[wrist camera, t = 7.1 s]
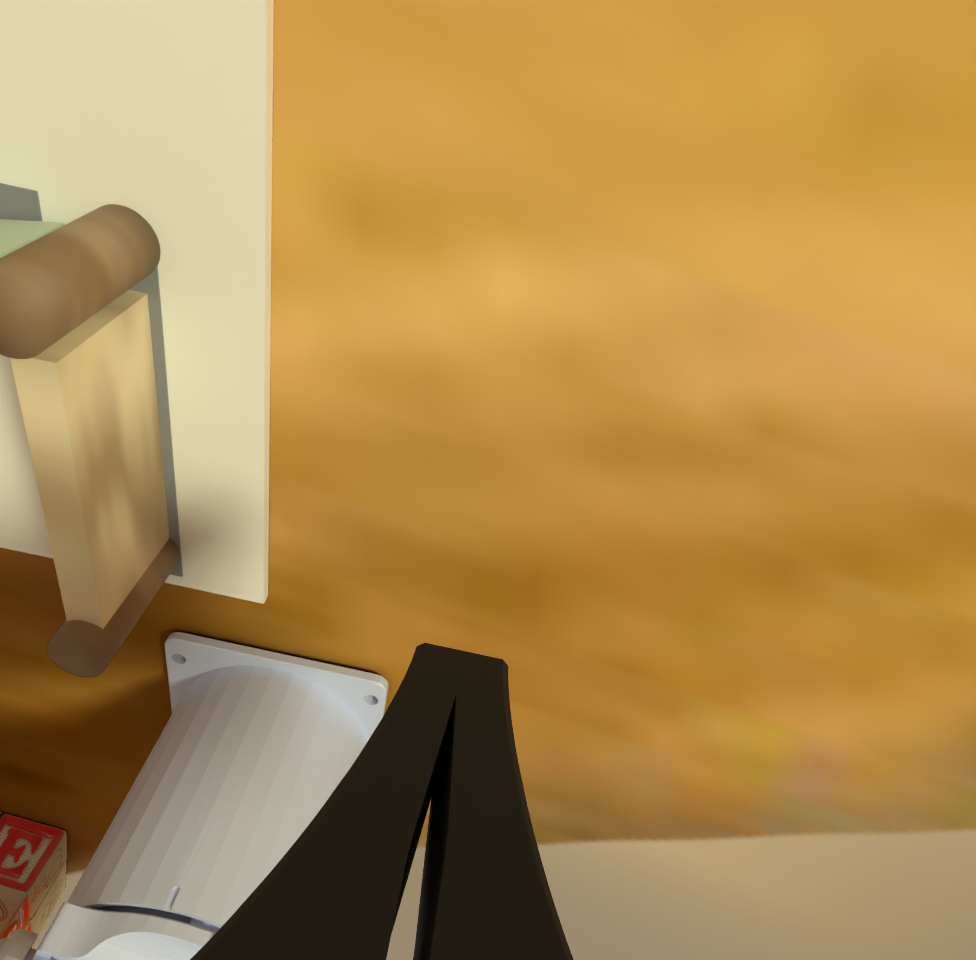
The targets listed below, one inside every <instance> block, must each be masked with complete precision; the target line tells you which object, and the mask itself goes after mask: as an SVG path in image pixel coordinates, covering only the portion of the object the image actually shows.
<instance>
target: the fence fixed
mask: <svg viewBox="0 0 976 960" xmlns="http://www.w3.org/2000/svg"><path fill="white" fill-rule="evenodd" d="M159 261H160V244H159V241H158V238H157V235H156V234H155V232H154V230H153V228H152V227H151V225H150V224H149V223H148V222H147V221H146V220H145V219H144V218H143V217H142V216H141V215H140V214H138V213H137V212H136V211H134V210H132V209H130V208H128V207H126V206H122V205H117V204H108V205H104V206H101V207H99V208H97V209H95V210H93V211H91V212H89V213H87V214H85V215H83V216H82V217H80V218H78V219H76V220H74V221H72V222H70V223H68V224H66V225H64V226H62V227H60V228H58V229H56V230H54V231H52V232H50V233H48V234H46V235H45V236H43V237H41V238H39V239H37V240H35V241H33V242H31V243H29V244H27V245H25V246H23V247H21V248H19V249H17V250H15V251H13V252H11V253H10V254H8V255H6V256H4V257H2V258H0V354H1V355H3V356H6V357H10V360H11V364H12V369H13V374H14V378H15V383H16V388H17V392H18V397H19V401H20V406H21V411H22V415H23V420H24V425H25V429H26V434H27V439H28V443H29V448H30V453H31V457H32V462H33V466H34V471H35V476H36V480H37V485H38V490H39V494H40V499H41V504H42V508H43V513H44V518H45V522H46V527H47V531H48V536H49V541H50V545H51V550H52V555H53V559H54V564H55V569H56V573H57V578H58V583H59V587H60V592H61V596H62V601H63V606H64V610H65V615H66V620H65V622H64V623H63V624H62V625H61V627H60V628H59V629H58V630H57V632H56V633H55V634H54V635H53V637H52V638H51V639H50V640H49V642H48V643H47V646H46V650H47V653H48V655H49V657H50V659H51V660H52V661H53V662H54V663H55V664H56V665H57V666H58V667H60V668H61V669H63V670H65V671H66V672H68V673H71V674H73V675H76V676H81V677H95V676H98V675H100V674H101V673H102V672H103V671H104V670H105V668H106V667H107V665H108V664H109V662H110V661H111V659H112V658H113V657H114V655H115V654H116V652H117V651H118V649H119V648H120V646H121V645H122V643H123V642H124V641H125V639H126V638H127V636H128V635H129V633H130V632H131V630H132V629H133V627H134V626H135V624H136V623H137V622H138V620H139V619H140V617H141V616H142V614H143V613H144V611H145V610H146V608H147V607H148V606H149V604H150V603H151V601H152V600H153V598H154V597H155V595H156V594H157V592H158V591H159V589H160V588H161V587H162V585H163V584H164V582H165V581H166V579H167V578H168V576H169V575H170V573H171V572H172V571H173V569H174V568H175V566H176V565H177V563H178V562H179V560H180V551H179V548H178V546H177V545H176V544H175V542H174V541H173V540H172V539H171V538H170V536H169V525H168V514H167V503H166V492H165V481H164V470H163V459H162V449H161V438H160V427H159V416H158V405H157V394H156V383H155V372H154V361H153V350H152V339H151V328H150V318H149V307H148V296H147V294H146V293H141V292H137V291H132V290H129V289H130V288H132V287H133V286H134V285H136V284H137V283H138V282H140V281H141V280H143V279H144V278H145V277H147V276H148V275H150V274H151V273H152V272H153V271H154V270H155V268H156V266H157V265H158V264H159Z"/></svg>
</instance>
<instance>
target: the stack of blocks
mask: <svg viewBox="0 0 976 960" xmlns="http://www.w3.org/2000/svg"><path fill="white" fill-rule="evenodd" d="M66 859H67V836H66V831H65V830H62V829H59V828H55V827H51V826H48V825H44V824H41V823H38V822H34V821H31V820H27V819H23V818H20V817H16V816H13V815H10V814H3V813H2V811H0V939H3V938H8V937H9V936H10V935H11V934H12V933H13V932H14V931H15V930H17V929H25V930H28V931H31V932H33V933H36V934H38V936H37V938H36V939H35V941H34V943H33V945H34V944H35V942H36V940H37V939H38V937H39V935H40V933H41V931H42V929H43V928H44V926H45V924H46V922H47V920H48V919H49V917H50V915H51V913H52V912H53V910H54V908H55V906H56V904H57V903H58V901H59V899H60V897H61V895H62V894H63V892H64V890H65V888H66ZM33 945H32V946H33ZM31 948H32V947H31Z"/></svg>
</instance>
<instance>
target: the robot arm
mask: <svg viewBox="0 0 976 960" xmlns="http://www.w3.org/2000/svg"><path fill="white" fill-rule="evenodd" d="M165 654H166V663H167V672H168V681H169V690H170V700H171V709H172V715H171V717H170V719H169V720H168V722H167V724H166V726H165V728H164V729H163V731H162V733H161V735H160V737H159V738H158V740H157V742H156V744H155V746H154V747H153V749H152V751H151V753H150V755H149V756H148V758H147V760H146V762H145V764H144V765H143V767H142V769H141V771H140V772H139V774H138V776H137V778H136V780H135V781H134V783H133V785H132V787H131V789H130V790H129V792H128V794H127V796H126V798H125V799H124V801H123V803H122V805H121V807H120V808H119V810H118V812H117V814H116V816H115V817H114V819H113V821H112V823H111V825H110V826H109V828H108V830H107V832H106V833H105V835H104V837H103V839H102V841H101V842H100V844H99V846H98V848H97V850H96V851H95V853H94V855H93V857H92V859H91V860H90V862H89V864H88V866H87V868H86V869H85V871H84V873H83V875H82V877H81V878H80V880H79V882H78V884H77V886H76V887H75V889H74V891H73V893H72V895H71V896H70V898H69V900H68V902H65V903H63V905H62V906H61V908H60V910H59V912H58V913H57V915H56V917H55V919H54V920H53V923H52V924H51V926H50V928H49V930H48V931H47V933H46V935H45V937H44V938H43V940H42V942H41V944H40V945H39V947H38V949H37V950H35V949H32V948H31V947H32V945H33V943H34V941H35V939H36V938H37V936H38V934H36V933H33V932H31V931H28V930H25V929H17V930H15V931H14V932H13V933H12V934H11V935H10V936H9V937H8V938H3V939H0V960H386V957H387V952H388V947H389V942H390V937H391V933H392V930H393V926H394V923H395V920H396V916H397V913H398V909H399V906H400V903H401V899H402V896H403V892H404V889H405V886H406V882H407V879H408V875H409V872H410V868H411V865H412V862H413V858H414V855H415V851H416V848H417V845H418V841H419V838H420V834H421V831H422V827H423V824H424V821H425V817H426V814H427V810H428V807H429V804H430V800H431V806H430V815H429V824H428V833H427V842H426V851H425V860H424V869H423V879H422V887H421V897H420V906H419V915H418V924H417V933H416V942H415V950H414V958H413V960H573V957H572V955H571V952H570V949H569V946H568V944H567V941H566V938H565V935H564V932H563V929H562V926H561V923H560V920H559V917H558V914H557V911H556V908H555V905H554V902H553V899H552V895H551V892H550V889H549V886H548V882H547V879H546V875H545V872H544V868H543V865H542V862H541V858H540V854H539V851H538V847H537V843H536V839H535V835H534V832H533V828H532V824H531V819H530V815H529V811H528V807H527V803H526V798H525V793H524V788H523V783H522V779H521V774H520V769H519V764H518V759H517V753H516V747H515V741H514V734H513V727H512V720H511V712H510V702H509V688H508V665H507V664H506V663H505V662H504V660H503V659H498V658H493V657H489V656H484V655H479V654H475V653H470V652H465V651H461V650H456V649H451V648H447V647H442V646H437V645H433V644H428V643H424V644H421V645H419V646H417V647H416V650H415V653H414V656H413V659H412V661H411V664H410V666H409V668H408V670H407V673H406V675H405V677H404V679H403V681H402V683H401V685H400V687H399V689H398V691H397V693H396V695H395V696H394V698H393V700H392V702H391V704H390V705H389V707H388V709H387V711H386V712H385V714H384V711H385V705H386V699H387V692H388V682H387V681H386V679H385V678H383V677H382V676H380V675H377V674H374V673H369V672H364V671H360V670H355V669H350V668H346V667H341V666H336V665H332V664H327V663H322V662H318V661H313V660H308V659H304V658H299V657H294V656H290V655H285V654H280V653H276V652H271V651H266V650H262V649H257V648H252V647H248V646H243V645H238V644H234V643H229V642H224V641H220V640H215V639H210V638H206V637H201V636H196V635H192V634H187V633H182V632H175V633H172V634H171V635H169V637H168V638H167V640H166V642H165Z"/></svg>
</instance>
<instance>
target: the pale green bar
mask: <svg viewBox="0 0 976 960" xmlns="http://www.w3.org/2000/svg"><path fill="white" fill-rule="evenodd" d="M64 225H65V224H64V222H44V221H25V220H5V219H0V258H2V257H4V256H6V255H8V254H10V253H11V252H13V251H15V250H17V249H19V248H21V247H23V246H25V245H27V244H29V243H31V242H33V241H35V240H37V239H39V238H41V237H43V236H45V235H46V234H48V233H50V232H52V231H54V230H56V229H58V228H60V227H62V226H64Z"/></svg>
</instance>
